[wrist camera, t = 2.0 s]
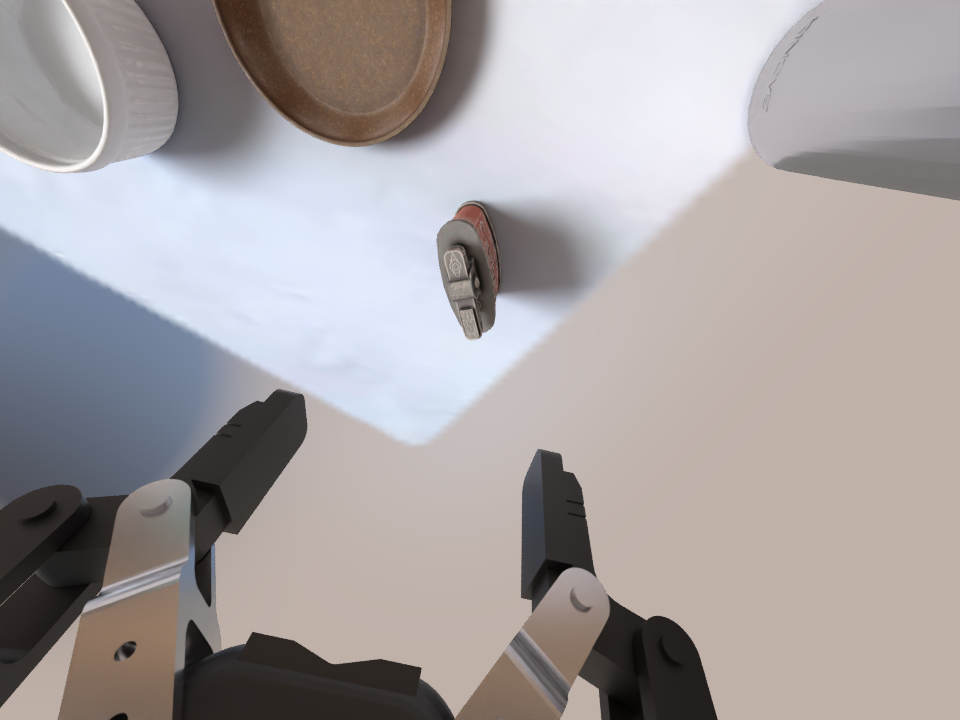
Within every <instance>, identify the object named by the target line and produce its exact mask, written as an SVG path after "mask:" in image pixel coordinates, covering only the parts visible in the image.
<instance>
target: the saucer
mask: <svg viewBox="0 0 960 720" xmlns="http://www.w3.org/2000/svg"><path fill="white" fill-rule="evenodd" d="M212 3H213V6H214V9H215V12H216V15H217V18H218V21H219V23H220V26H221V28H222V31H223V34H224V36H225V38H226V40H227V42H228V44H229V47H230V49H231V50H232V52H233V54H234V56H235V58H236V60H237V61H238V63H239V65H240V66H241V68H242V70H243V71H244V72H245V74H246V76H247V77H248V79H249V80H250V81H251V83H252V84H253V85H254V87H255V88H256V89H257V90H258V92H259V93H260V94H261V95H262V97H263V98H264V99H265V100H266V101H267V102H268V103H269V104H270V105H271V106H272V107H273V108H274V109H275V110H276V111H277V112H278V113H279V114H280V115H281V116H283V117H284V118H285V119H286V120H287V121H289V122H290V123H291V124H293V125H294V126H295V127H297V128H298V129H300V130H302V131H303V132H305V133H307V134H309V135H311V136H313V137H315V138H318V139H320V140H323V141H325V142H328V143H332V144H336V145H341V146H349V147H360V146H368V145H373V144H377V143H380V142H383V141H385V140H388V139H390V138H392V137H393V136H395V135H397V134H398V133H400V132H401V131H402V130H404V129H405V128H406V127H407V126H408V125H410V124H411V123H412V122H413V121H414V120H415V118H416V117H417V116H418V115H419V114H420V113H421V111H422V110H423V109H424V107H425V105H426V104H427V102H428V101H429V99H430V97H431V95H432V93H433V91H434V89H435V87H436V85H437V83H438V80H439V78H440V75H441V72H442V69H443V65H444V62H445V58H446V54H447V49H448V45H449V37H450V31H451V16H452V0H212Z"/></svg>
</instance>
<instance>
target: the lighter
mask: <svg viewBox="0 0 960 720" xmlns="http://www.w3.org/2000/svg"><path fill="white" fill-rule="evenodd" d="M437 247H438V258H439V266H440V271H441V275H442V280H443V285H444V288H445V291H446V294H447V297H448V299H449V302H450V305H451V307H452V309H453V311H454V313H455V315H456V317H457V319H458V321H459V323H460V325H461V327H462V328H463V331H464V334H465V337H466V338H467V339H469V340H476V339H479V338H481V336H482V333H484V332H487V331H488V330H490V329H491V328H492V326H493V325H494V321H495V301H496V296H497V293H498V292H499V290H500V287H501V258H500V249H499V244H498V240H497V237H496V233H495V229H494V226H493V224H492V221H491V218H490V216H489V213H488V211H487V209H486V207H485V206H484V205H483V204H482V203H480V202H478V201H468V202H465V203H463V204H462V205H461V206H460V207H459V208H458V210H457V211H456V213H455V217H454V218H453V219H452V220H451V221H448V222H447V223H446V224H445V225H444V226H443V227H442V228H441V229H440V231H439V233H438V235H437Z"/></svg>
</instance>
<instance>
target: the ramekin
mask: <svg viewBox="0 0 960 720" xmlns="http://www.w3.org/2000/svg"><path fill="white" fill-rule="evenodd" d="M177 114H178V90H177V84H176V79H175V75H174V72H173V68H172V65H171V63H170V60H169V57H168V55H167V52H166V50H165V48H164V46H163V44H162V42H161V40H160V38H159V36H158V35H157V33H156V31H155V30H154V28H153V26H152V25H151V23H150V22H149V20H148V19H147V17H146V16H145V14H144V12H143V11H142V10H141V8H140V7H139V6H138V5H137V4H136V2H135V1H134V0H0V151H2V152H4V153H5V154H7V155H9V156H11V157H13V158H14V159H16V160H18V161H21V162H23V163H25V164H28V165H30V166H33V167H35V168H38V169H41V170H46V171H51V172H57V173H78V172H89V171H94V170H98V169H101V168H103V167H105V166H107V165H108V164H110V163H114V162H119V161H123V160H128V159H132V158H136V157H140V156H143V155H146V154H149V153H151V152H153V151H155V150H157V149H159V148H160V147H161V146H162V145H164V144H165V143H166V141H167V140H168V139H169V138H170V136H171V134H172V133H173V131H174V127H175V124H176V120H177Z"/></svg>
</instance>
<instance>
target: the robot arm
mask: <svg viewBox="0 0 960 720" xmlns="http://www.w3.org/2000/svg"><path fill="white" fill-rule="evenodd" d="M748 129H749V135H750V140H751V142H752V145H753V147H754V149H755V151H756V153H757V154H758V155H759V156H760V157H761V158H762V159H763V160H764V161H765V162H766V163H768V164H769V165H771V166H773V167H775V168H777V169H781V170H785V171H789V172H795V173H802V174H807V175H813V176H819V177H823V178H829V179H835V180H841V181H847V182H853V183H858V184H864V185H870V186H876V187H882V188H888V189H895V190H900V191H907V192H913V193H918V194H924V195H930V196H936V197H942V198H948V199H954V200H960V0H825V1H824V2H822V3H821V4H820V5H818V6H817V7H815V8H814V9H813V10H811V11H810V12H808V13H807V14H806V15H805V16H804V17H803V18H802V19H801V20H800V21H799V22H798V23H797V24H796V25H795V26H793V27H792V28H791V29H790V30H789V31H788V33H787V34H786V35H785V36H784V38H783V39H782V40H781V41H780V43H779V44H778V45H777V46H776V48H775V49H774V50H773V52H772V53H771V55H770V57H769V58H768V60H767V62H766V63H765V65H764V67H763V68H762V70H761V72H760V75H759V77H758V80H757V82H756V84H755V87H754V89H753V93H752V97H751V101H750V105H749V112H748ZM306 432H307V418H306V409H305V400H304V396H303V395H302V394H299V393H294V392H290V391H286V390H281V389H278V390H276V391H274V392H273V393H272V394H271V395H270V396H269V397H268V399H267V400H266V401H265V402H260V401H256V402H254V403H252V404H250V405H248V406H246V407H244V408H243V409H241V410H239V411H238V413H236V414H235V415H234V416H233V417H232V418H231V419H230V420H229V421H228V422H227V425H224V426H223V427H222V428H221V429H220V430H219V431H218V432H217V434H216V435H214V436H213V437H212V438H211V439H210V440H209V441H208V442H207V443H206V444H205V445H204V446H203V447H202V448H201V449H200V450H199V451H198V452H197V453H196V454H195V455H194V456H193V457H192V458H191V459H190V460H189V461H188V462H187V463H186V464H185V465H184V466H183V467H182V468H181V469H180V470H178V472H176V473H175V474H174V475H173V476H172V477H171V478H169V479H165V480H159V481H155V482H152V483H149V484H147V485H145V486H143V487H141V488H139V489H137V490H136V491H134V492H133V493H132V494H130V495H120V496H106V497H93V498H85V497H84V495H83V494H82V493H81V491H80V490H79V489H78V488H76V487H74V486H70V485H54V486H48V487H44V488H40V489H38V490H34V491H32V492H29V493H27V494H25V495H23V496H21V497H19V498H17V499H16V500H14V501H12V502H11V503H9V504H8V505H7V506H5V507H4V508H3V509H2V510H0V605H1V604H2V603H3V602H4V601H5V600H6V599H7V598H8V597H9V596H10V595H11V594H12V593H14V592H15V591H16V590H17V589H18V588H19V587H20V586H21V585H22V584H23V583H24V582H25V581H26V580H27V579H28V578H29V577H30V576H31V575H32V574H33V573H34V574H33V575H32V576H31V577H30V578H29V579H28V580H27V581H26V582H25V583H24V584H23V585H22V586H21V587H20V588H19V589H18V590H17V591H16V592H15V593H14V594H12V595H11V596H10V597H9V598H8V599H7V600H6V601H5V602H4V603H3V604H2V605H1V606H0V708H1V706H2V705H3V704H4V703H5V702H6V701H7V699H8V698H9V697H10V696H11V695H12V693H13V692H14V691H15V690H16V688H18V686H19V685H20V684H21V683H22V682H23V681H24V679H25V678H26V677H27V676H28V675H29V674H30V672H31V671H32V670H33V669H34V668H35V667H36V665H37V664H38V663H39V662H40V661H41V660H42V658H43V657H44V656H45V655H46V654H47V653H48V651H49V650H50V649H51V648H52V647H53V645H54V644H55V643H56V642H57V641H58V640H59V638H60V637H61V636H62V635H63V634H64V633H65V631H66V630H67V629H68V628H69V627H70V626H71V624H72V623H73V622H74V621H75V620H76V619H77V617H78V616H79V615H80V614H81V613H82V614H81V618H80V622H79V627H78V632H77V636H76V640H75V644H74V649H73V653H72V658H71V662H70V667H69V672H68V676H67V680H66V685H65V689H64V694H63V699H62V703H61V707H60V712H59V716H58V720H560V718H561V716H562V714H563V712H564V709H565V707H566V705H567V701H568V693H569V691H570V688H571V686H572V684H573V683H574V681H575V679H576V677H577V675H579V676H580V677H582V678H583V679H585V680H586V681H588V682H589V683H591V684H592V685H594V686H595V687H597V688H598V689H599V697H600V707H601V719H602V720H718V719H717V716H716V713H715V709H714V705H713V702H712V698H711V695H710V691H709V688H708V684H707V680H706V677H705V673H704V670H703V667H702V663H701V659H700V657H699V653H698V651H697V649H696V647H695V645H694V643H693V641H692V640H691V638H690V637H689V636H688V634H687V633H686V632H685V631H684V630H683V629H682V628H681V627H680V626H679V625H678V624H676V623H675V622H674V621H672V620H670V619H668V618H666V617H662V616H653V617H651V618H649V619H648V620H645V619H643V618H642V617H640V616H638V615H636V614H635V613H633V612H631V611H630V610H628V609H626V608H625V607H623V606H621V605H620V604H618V603H617V602H615V601H614V600H613V599H612V598H611V597H610V596H609V595H608V594H607V593H606V591H605V589H604V587H603V585H602V584H601V583H600V581H599V580H598V579H597V577H596V574H595V571H594V567H593V560H592V553H591V547H590V540H589V534H588V527H587V521H586V519H585V517H586V515H585V508H584V506H583V505H584V501H583V495H582V488H581V487H580V484H579V483H578V481H577V479H576V477H575V475H574V474H573V473H570V472H565V471H563V464H562V457H561V455H560V454H559V453H554V452H550V451H546V450H541V449H538V450H537V452H536V454H535V456H534V459H533V461H532V463H531V465H530V467H529V470H528V472H527V475H526V477H525V480H524V485H523V491H522V566H521V568H522V569H521V571H522V573H521V598H524V599H529V600H532V614H531V616H530V617H529V618H528V620H527V621H526V622H525V624H524V625H523V627H522V628H521V629H520V631H519V632H518V633H517V635H516V636H515V637H514V639H513V640H512V641H511V643H510V644H509V645H508V647H507V648H506V650H505V651H504V652H503V654H502V655H501V656H500V658H499V659H498V660H497V662H496V663H495V664H494V666H493V667H492V669H491V670H490V672H489V673H488V674H487V676H486V677H485V678H484V680H483V681H482V682H481V684H480V685H479V686H478V688H477V689H476V690H475V692H474V693H473V695H472V696H471V697H470V699H469V700H468V701H467V703H466V704H465V705H464V707H463V708H462V710H461V711H460V712H459V714H458V715H457V716H456V718H454V716H453V714H452V712H451V710H450V709H449V708H448V706H447V704H446V703H445V701H444V700H443V699H442V697H441V696H440V695H439V694H438V693H437V692H436V690H434V689H433V688H432V687H431V686H430V685H429V684H428V683H426V682H424V681H423V680H421V679H420V674H421V668H420V667H415V666H411V665H406V664H401V663H396V662H392V661H387V660H382V659H377V660H369V661H360V662H352V663H344V664H331V663H328V662H327V661H325V660H323V659H322V658H320V657H319V656H317V655H316V654H314V653H313V652H311V651H309V650H308V649H306V648H305V647H303V646H302V645H300V644H298V643H297V642H295V641H293V640H288V639H283V638H279V637H274V636H269V635H264V634H260V633H255V632H252V634H251V636H250V637H249V639H248V641H247V643H246V644H242V645H238V646H234V647H230V648H227V649H224V650H222V651H221V636H220V630H219V624H218V620H217V614H216V581H215V580H216V579H215V577H216V576H215V544H214V543H215V541H216V540H217V539H218V537H219V536H220V535H221V533H222V532H228V533H232V534H238V533H239V532H240V530H241V529H242V527H243V526H244V525H245V523H246V522H247V520H248V519H249V518H250V516H251V515H252V513H253V512H254V511H255V509H256V508H257V506H258V505H259V504H260V502H261V501H262V499H263V498H264V496H265V495H266V494H267V492H268V491H269V489H270V488H271V487H272V485H273V484H274V482H275V481H276V479H277V478H278V477H279V475H280V474H281V472H282V471H283V470H284V468H285V467H286V465H287V464H288V463H289V461H290V460H291V458H292V457H293V455H294V454H295V453H296V451H297V450H298V448H299V447H300V446H301V444H302V443H303V441H304V439H305V436H306ZM100 590H101V592H100ZM99 592H100V594H99V595H98V596H96V595H97V594H98V593H99ZM95 596H96V597H95Z"/></svg>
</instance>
